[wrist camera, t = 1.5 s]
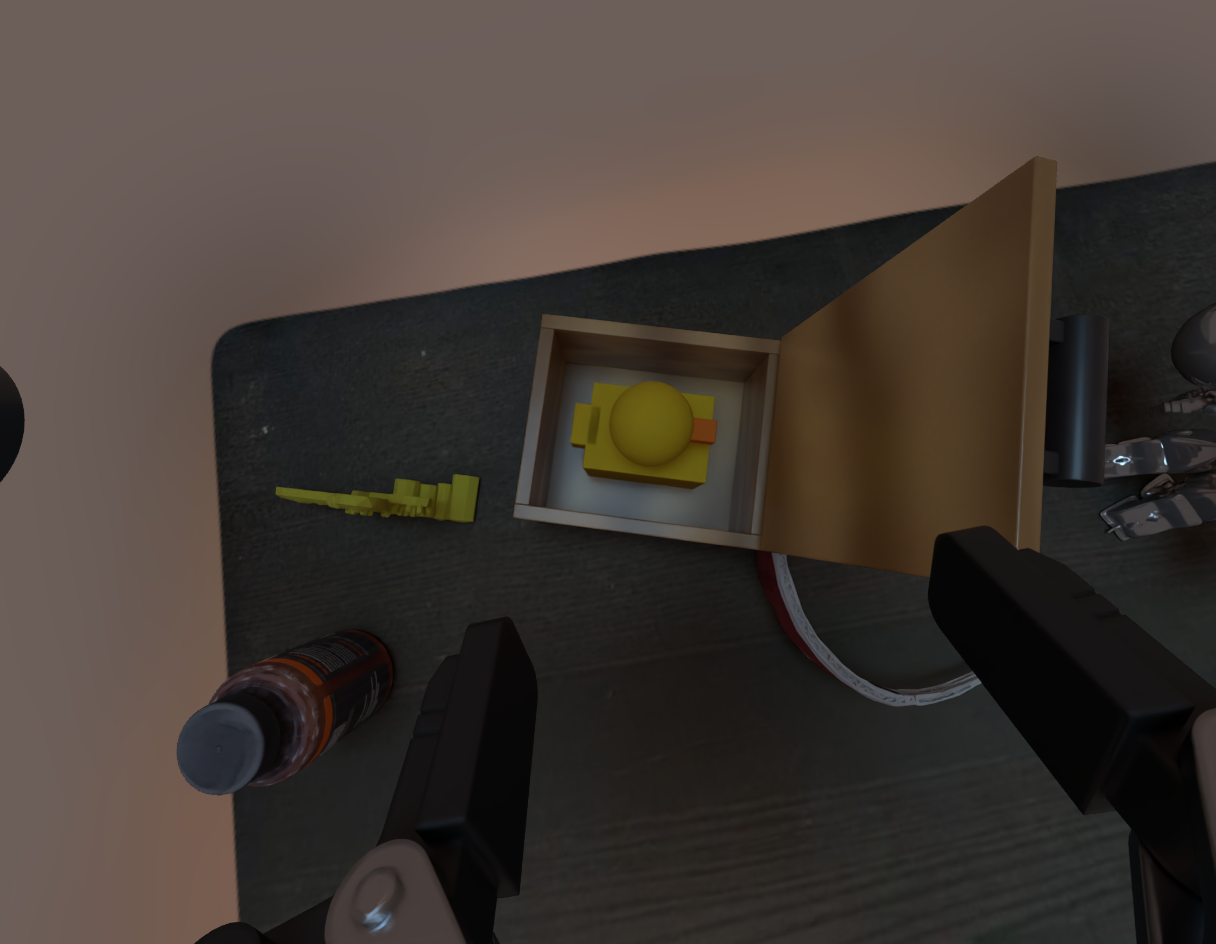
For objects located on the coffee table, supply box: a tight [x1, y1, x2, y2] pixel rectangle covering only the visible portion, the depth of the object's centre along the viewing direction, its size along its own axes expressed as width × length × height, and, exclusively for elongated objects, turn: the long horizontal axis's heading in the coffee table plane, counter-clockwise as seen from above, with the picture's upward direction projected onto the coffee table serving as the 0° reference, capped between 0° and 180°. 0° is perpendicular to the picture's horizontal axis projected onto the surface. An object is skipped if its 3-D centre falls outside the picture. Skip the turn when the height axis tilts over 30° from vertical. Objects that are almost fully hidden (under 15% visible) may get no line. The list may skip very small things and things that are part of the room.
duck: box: [570, 381, 717, 489], centre depth 29 cm, size 8×5×10 cm, turn 83°
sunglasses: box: [756, 550, 981, 706], centre depth 32 cm, size 17×17×5 cm
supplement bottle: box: [177, 630, 393, 795], centre depth 28 cm, size 6×6×11 cm
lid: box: [761, 156, 1109, 578], centre depth 21 cm, size 14×12×4 cm
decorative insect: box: [276, 474, 480, 523], centre depth 32 cm, size 13×3×10 cm
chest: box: [513, 314, 781, 550], centre depth 32 cm, size 14×12×7 cm
